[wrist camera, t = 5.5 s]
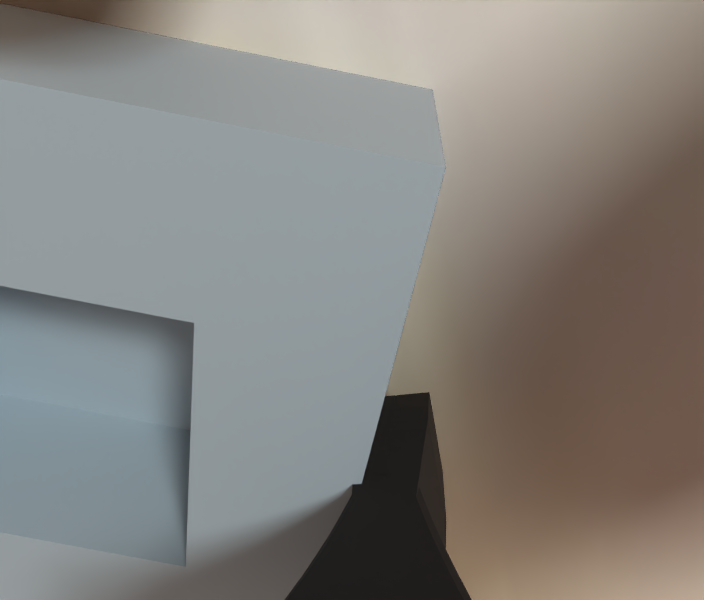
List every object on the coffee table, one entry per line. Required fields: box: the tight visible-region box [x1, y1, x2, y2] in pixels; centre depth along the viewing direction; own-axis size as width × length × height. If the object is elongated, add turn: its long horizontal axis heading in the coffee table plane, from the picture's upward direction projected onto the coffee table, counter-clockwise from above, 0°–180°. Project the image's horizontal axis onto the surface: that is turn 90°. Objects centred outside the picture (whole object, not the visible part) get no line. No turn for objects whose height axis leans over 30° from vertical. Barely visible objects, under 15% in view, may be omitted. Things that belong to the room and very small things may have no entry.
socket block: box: [0, 3, 446, 600], centre depth 10 cm, size 10×10×4 cm
